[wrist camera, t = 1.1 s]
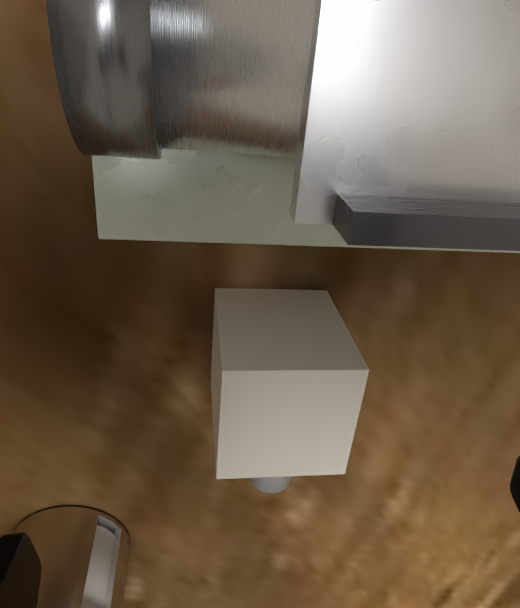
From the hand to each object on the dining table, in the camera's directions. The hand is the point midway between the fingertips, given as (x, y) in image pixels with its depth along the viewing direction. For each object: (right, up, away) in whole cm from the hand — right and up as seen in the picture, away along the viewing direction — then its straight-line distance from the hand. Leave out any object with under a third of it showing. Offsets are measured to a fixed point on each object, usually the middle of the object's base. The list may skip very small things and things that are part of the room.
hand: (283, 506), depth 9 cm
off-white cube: (0, +1, +14) cm, 14 cm away
